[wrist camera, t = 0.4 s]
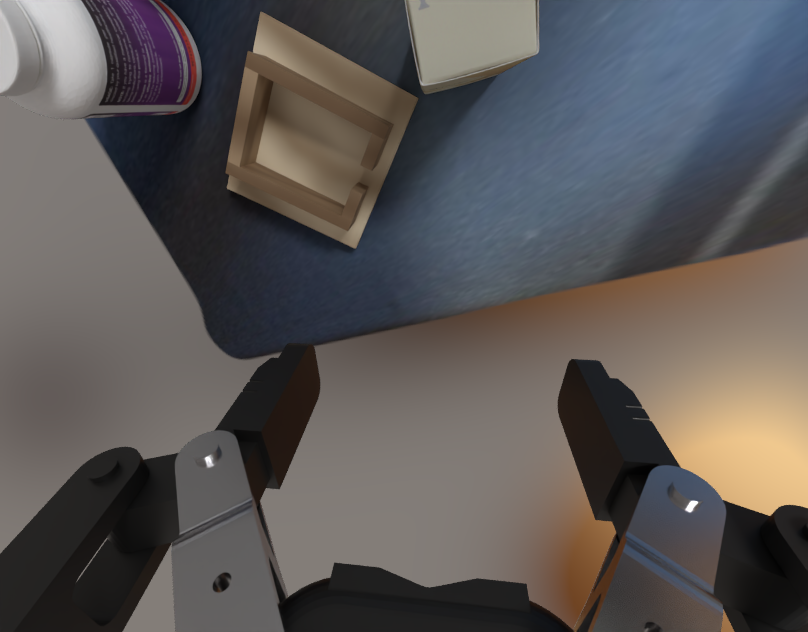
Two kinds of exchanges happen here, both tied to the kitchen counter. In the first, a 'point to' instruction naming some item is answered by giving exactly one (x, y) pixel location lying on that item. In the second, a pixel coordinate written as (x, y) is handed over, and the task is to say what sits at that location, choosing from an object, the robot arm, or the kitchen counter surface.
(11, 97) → the pill bottle
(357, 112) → the frame
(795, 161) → the kitchen counter surface
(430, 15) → the skincare box
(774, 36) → the kitchen counter surface
